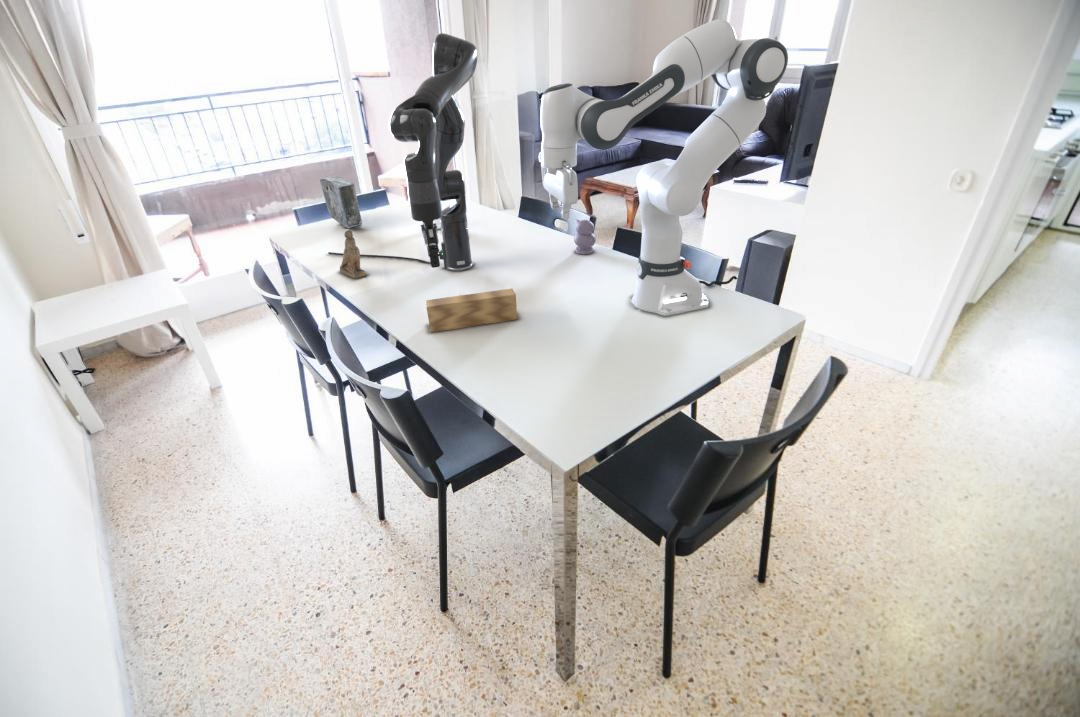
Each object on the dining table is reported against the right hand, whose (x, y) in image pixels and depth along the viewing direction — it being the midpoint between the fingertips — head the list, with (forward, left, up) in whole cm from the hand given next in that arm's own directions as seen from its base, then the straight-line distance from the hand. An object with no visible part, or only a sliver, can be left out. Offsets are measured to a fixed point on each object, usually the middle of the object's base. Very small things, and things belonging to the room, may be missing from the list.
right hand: (559, 213), depth 131 cm
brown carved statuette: (+67, -47, -29) cm, 87 cm away
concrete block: (+79, -111, -29) cm, 140 cm away
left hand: (+34, +2, -9) cm, 36 cm away
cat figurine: (-19, -49, -29) cm, 60 cm away
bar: (+26, +1, -29) cm, 39 cm away
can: (+38, -96, -29) cm, 107 cm away
